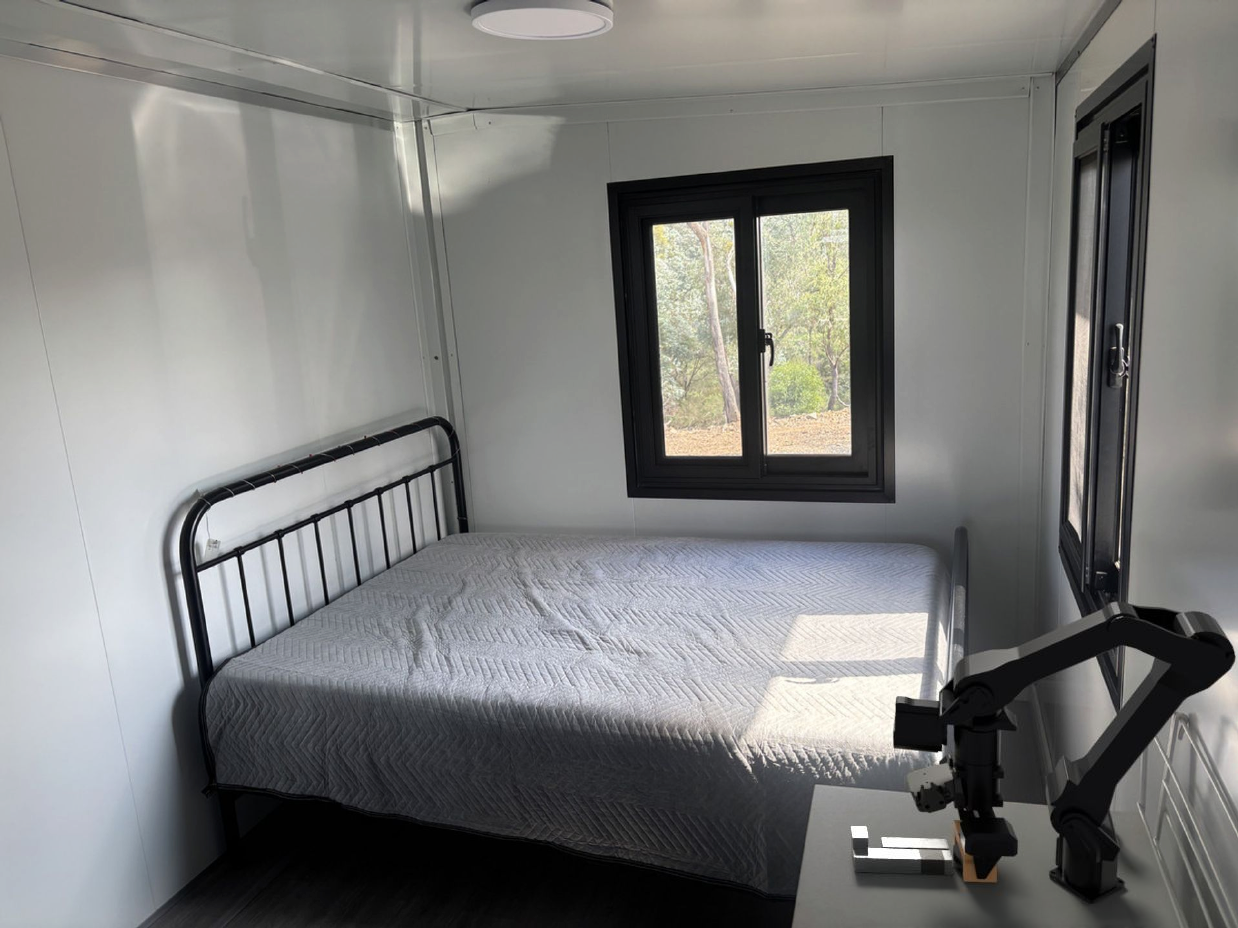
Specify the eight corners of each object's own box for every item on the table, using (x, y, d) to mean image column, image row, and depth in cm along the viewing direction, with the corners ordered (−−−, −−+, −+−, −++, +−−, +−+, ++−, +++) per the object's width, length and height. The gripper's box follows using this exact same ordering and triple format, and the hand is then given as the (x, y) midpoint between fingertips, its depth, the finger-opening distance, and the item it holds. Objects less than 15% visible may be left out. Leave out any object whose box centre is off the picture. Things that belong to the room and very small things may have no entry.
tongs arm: (946, 853, 129) (946, 828, 129) (952, 874, 125) (952, 849, 124) (851, 850, 131) (851, 826, 131) (854, 871, 127) (854, 846, 126)
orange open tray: (984, 846, 130) (984, 820, 129) (996, 882, 123) (997, 854, 122) (953, 846, 131) (953, 819, 130) (964, 881, 124) (964, 853, 123)
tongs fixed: (980, 855, 129) (981, 839, 128) (988, 875, 125) (988, 859, 124) (881, 852, 131) (881, 837, 130) (885, 872, 127) (885, 856, 126)
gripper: (901, 717, 133) (901, 816, 137) (923, 794, 115) (923, 905, 119) (985, 717, 131) (983, 817, 135) (1020, 796, 114) (1017, 908, 117)
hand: (974, 859), depth 127 cm, fingers closed on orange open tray, 7 cm apart
